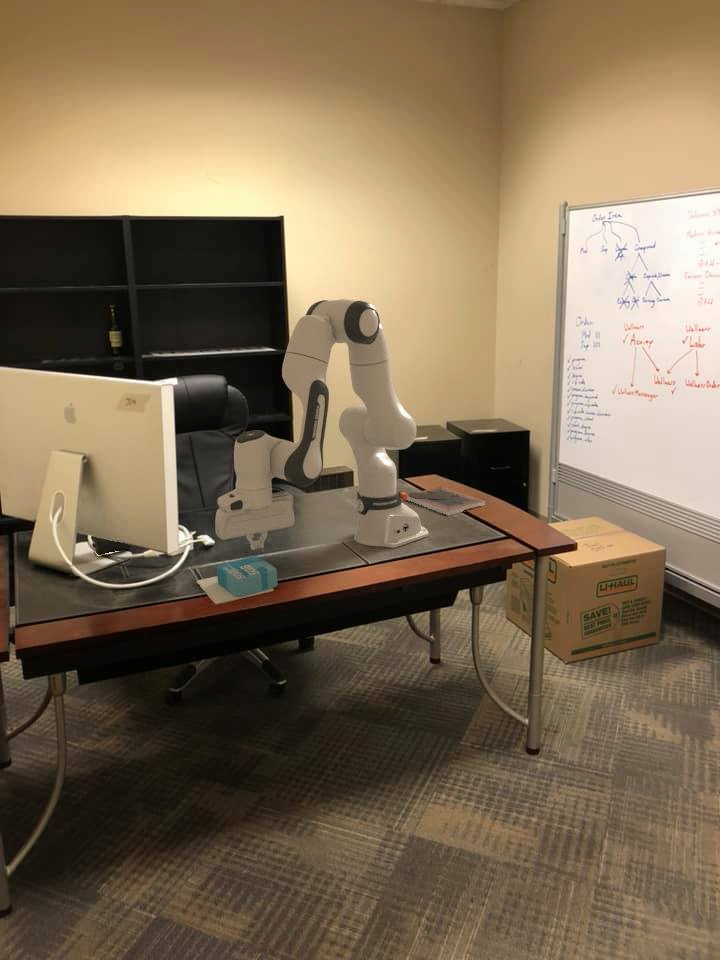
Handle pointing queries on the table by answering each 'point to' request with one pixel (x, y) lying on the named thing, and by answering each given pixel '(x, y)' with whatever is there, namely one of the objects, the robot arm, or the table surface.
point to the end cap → (108, 546)
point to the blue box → (247, 576)
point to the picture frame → (444, 500)
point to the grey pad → (221, 591)
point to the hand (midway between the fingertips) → (257, 548)
